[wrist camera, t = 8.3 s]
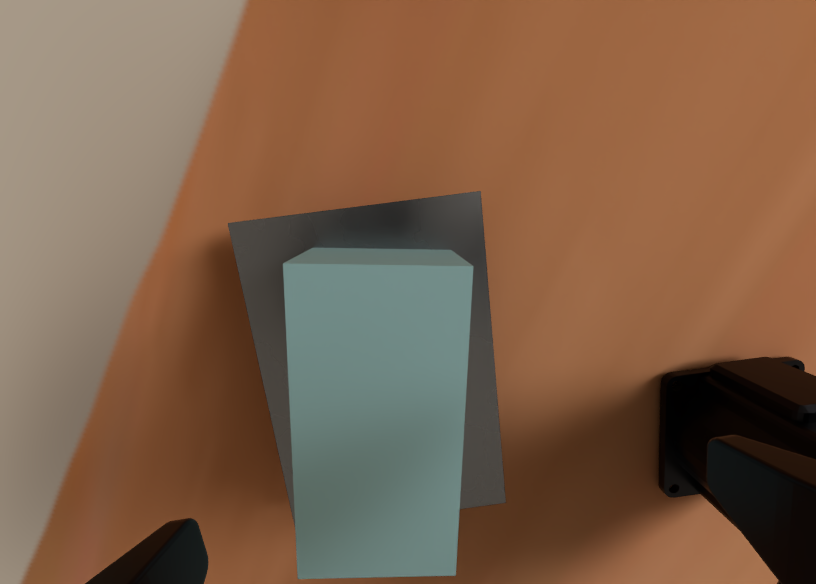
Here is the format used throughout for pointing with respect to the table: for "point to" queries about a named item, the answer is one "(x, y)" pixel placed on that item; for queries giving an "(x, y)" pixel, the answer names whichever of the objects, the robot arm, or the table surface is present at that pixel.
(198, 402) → the table surface
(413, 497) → the housing
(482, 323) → the stand
